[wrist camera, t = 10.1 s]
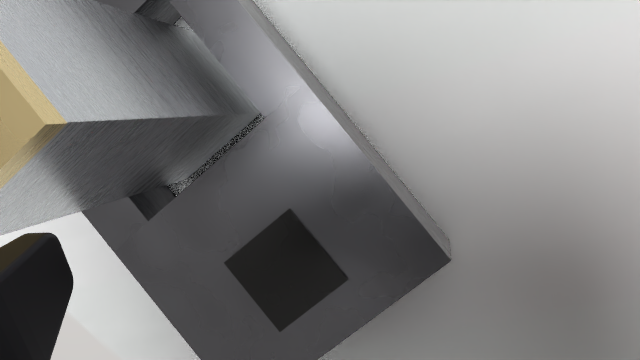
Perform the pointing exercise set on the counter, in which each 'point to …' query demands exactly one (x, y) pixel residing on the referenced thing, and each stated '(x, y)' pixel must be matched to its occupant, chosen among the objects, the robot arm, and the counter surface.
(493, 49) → the counter surface
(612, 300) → the counter surface
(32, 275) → the robot arm
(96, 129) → the square bar
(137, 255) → the rack rail
